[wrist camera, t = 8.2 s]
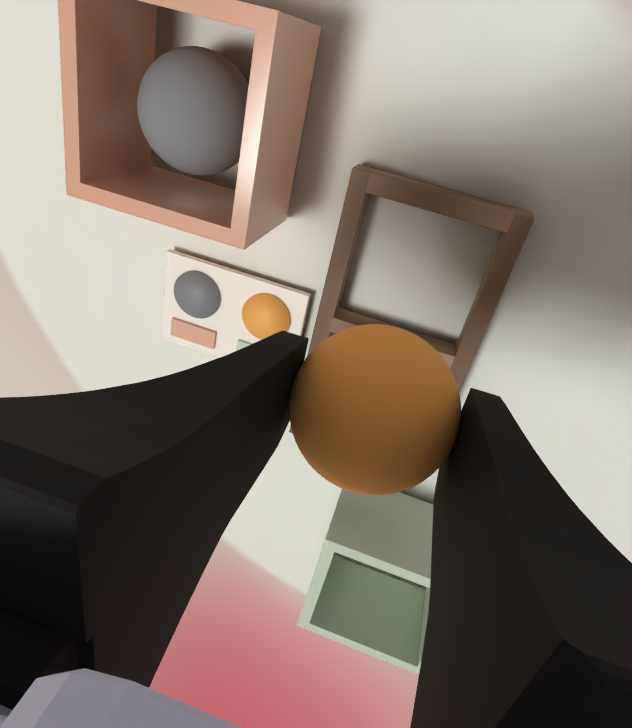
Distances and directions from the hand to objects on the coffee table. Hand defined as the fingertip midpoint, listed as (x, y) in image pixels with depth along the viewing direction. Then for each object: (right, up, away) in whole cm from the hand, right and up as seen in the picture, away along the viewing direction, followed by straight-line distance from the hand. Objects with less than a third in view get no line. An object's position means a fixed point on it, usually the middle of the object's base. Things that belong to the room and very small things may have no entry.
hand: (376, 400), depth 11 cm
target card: (-5, +3, +10) cm, 11 cm away
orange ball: (0, 0, 0) cm, 0 cm away
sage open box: (+2, -8, +13) cm, 16 cm away
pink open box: (-5, +9, +6) cm, 12 cm away
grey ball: (-5, +9, +5) cm, 11 cm away
